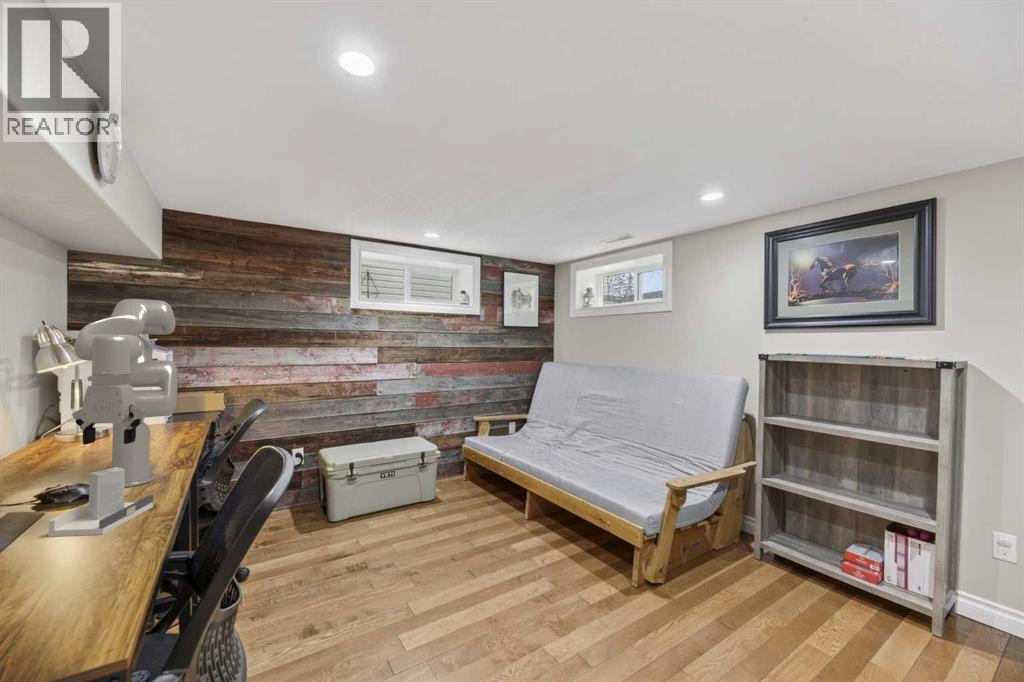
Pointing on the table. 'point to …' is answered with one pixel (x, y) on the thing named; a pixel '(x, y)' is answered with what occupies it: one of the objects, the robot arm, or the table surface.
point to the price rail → (125, 511)
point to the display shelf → (85, 522)
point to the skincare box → (106, 492)
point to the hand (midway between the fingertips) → (109, 443)
